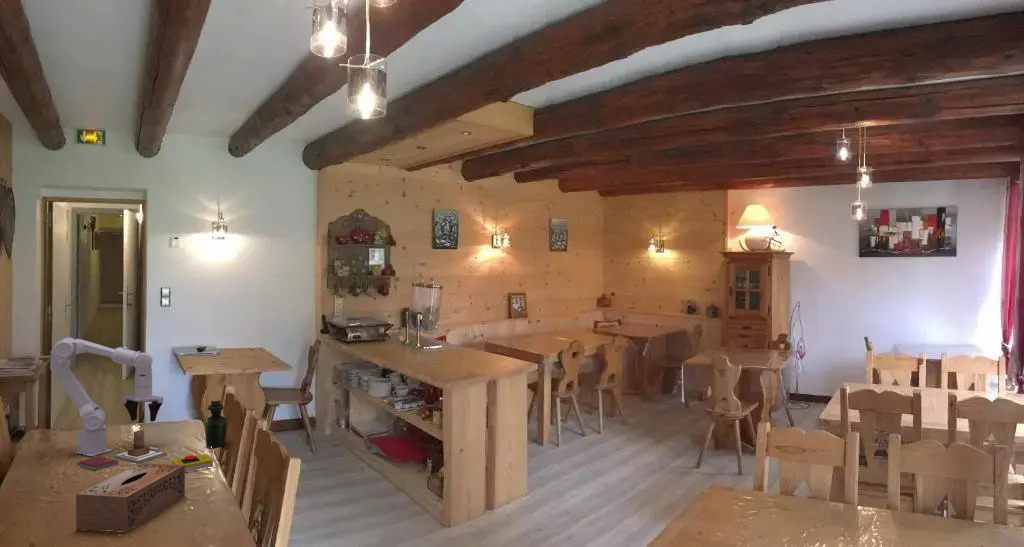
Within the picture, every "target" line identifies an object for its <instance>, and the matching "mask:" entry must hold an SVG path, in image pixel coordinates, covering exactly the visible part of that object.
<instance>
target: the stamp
mask: <svg viewBox="0 0 1024 547" xmlns="http://www.w3.org/2000/svg"><path fill="white" fill-rule="evenodd" d="M144 432H145V430H134V431H133V447H129V448H127V451H128V455H130V456H135V457H138V456H142V455H145V454H148V453H149V452H150V447H151V446H147V445H145V435H144V434H145V433H144Z"/></svg>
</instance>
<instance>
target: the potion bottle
mask: <svg viewBox="0 0 1024 547" xmlns="http://www.w3.org/2000/svg"><path fill="white" fill-rule="evenodd" d="M221 402H222V399H221V398H213V399H210V405H208V407H207V410H208V411H210V414H211V415H210V416H209V417H207V418H206V419H205V420H204V422H203V423H204V424H203V425H204V434H205V445H206V446H209V447H211V446H212V448H211V449H218V448H222V447H224V446H226V438H227V427H228V419H227V418H226V417H224V416H222V415H221V412H222V410H224V409H225V407H224V405H223V404H221Z"/></svg>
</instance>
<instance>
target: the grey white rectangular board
mask: <svg viewBox="0 0 1024 547" xmlns="http://www.w3.org/2000/svg"><path fill="white" fill-rule="evenodd" d="M149 447H150V452H149V453H148V454H145V455H142V456H138V457H135V456H130V455H128V450H127V451H124V452H123V451H122V452H120V453H116V454H113V455H112V459H116V460H121V459H122V461H126V460H127V461H126V462H130V461H131V462H130V463H134V462H136V463H135V464H139V463H141V462H142V463H145V462H147V461H146V460H148V461H150V460H149V459H151V460H153V459H152V458H155V457H158V456H160V455H163V454H166V453H167V454H168V452H166V451H162V450H160V449H159V448H158V447H154V446H153V447H152V446H149ZM158 458H159V457H158ZM155 459H156V458H155ZM144 461H145V462H144Z"/></svg>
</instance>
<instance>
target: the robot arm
mask: <svg viewBox="0 0 1024 547" xmlns="http://www.w3.org/2000/svg"><path fill="white" fill-rule="evenodd" d="M84 353H89V354H94V355H99V356H102V357H107V358H111V361H112V362H113V363H117V364H120V365H124V366H129V367H134V368H135V369H134V372H135V373H134V395H125V396H123V402H124V407H125V408H126V410H127V413H128V414H129V418H130V421H131V422H134V421H136V420H137V418H138V408H139V407H138V406H139V403H141V402H142V403H148V404H147V406H148V409H149V410H148V411H149V420H150V423H151V422H152V423H153V422H155V421H156V420H157V415H158V414H159V410H160V408H161V406H162V405H163V403H164V396H159V395H153V372H152V370H153V367H152V365H153V359H154V358H153V357H152V355H151V354H150V353H147V352H146V351H145V352H141V351H140V350H137V351H136V350H132V349H128V347H126V346H121V347H120V346H119V347H117V348H111V347H108V346H105V345H101V344H98V343H95V342H91V341H89V340H85V339H80V338H76V339H75V338H74V337H69V336H67V337H63V338H62V339H60V341H57V342H56V343H55V344H54V345H53V347H52V348H51V351H50V363H49V364H50V365H49V369H50V371H51V373H52V374H53V376H54V377H55V379H56V380H57V381H58V383H59V385H60V386H61V387H62V388H63V390H64V391H65V393H66V394H67V396H68V397H69V399H70V400H71V401H72V403H73V404H74V405H75V407H76V408H77V410H78V414H79V417H80V418H81V420H82V426H83V428H81V429H80V430H79V432H78V433H77V436H76V437H77V439H76V440H77V442H76V443H77V446H76V447H77V448H76V449H77V451H75V452H74V454H77V453H78V455H81V454H83V455H82V456H85V455H86V457H89V456H92V457H96V456H99V455H102V453H103V454H105V453H109V452H112V449H111V448H107V425H106V423H105V422H106V419H107V412H106V411H105V410H104V409H102V408H100V406H99V405H98V404H97V403H95V402H94V401H93V400H92V399H91V397H90V396H89V394H88V393H87V391H86V390H85V388H84V387H83V386H82V384H81V383H80V381H79V380H78V378H77V377H76V375H75V374H74V373H73V371H72V370H71V368H70V367H69V364H70V362H71V359H72V357H73V355H74V354H75V355H79V354H84ZM98 454H99V455H98Z"/></svg>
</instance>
